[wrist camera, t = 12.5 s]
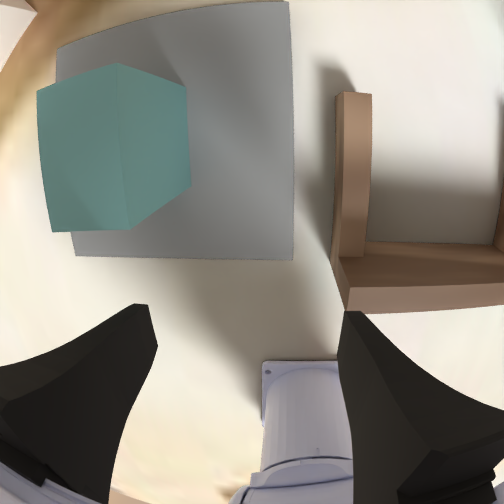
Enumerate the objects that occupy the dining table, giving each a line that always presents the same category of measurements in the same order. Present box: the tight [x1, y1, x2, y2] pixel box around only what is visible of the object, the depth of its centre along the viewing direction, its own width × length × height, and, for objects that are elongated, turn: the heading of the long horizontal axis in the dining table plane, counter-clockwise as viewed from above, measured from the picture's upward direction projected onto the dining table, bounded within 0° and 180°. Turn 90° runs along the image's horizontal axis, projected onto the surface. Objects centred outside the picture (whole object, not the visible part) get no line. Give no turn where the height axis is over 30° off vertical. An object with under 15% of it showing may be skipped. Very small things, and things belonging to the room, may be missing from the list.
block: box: [37, 63, 191, 232], centre depth 13 cm, size 6×4×8 cm, turn 2°
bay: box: [330, 91, 504, 314], centre depth 14 cm, size 10×15×6 cm
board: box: [56, 2, 294, 260], centre depth 17 cm, size 16×16×1 cm
